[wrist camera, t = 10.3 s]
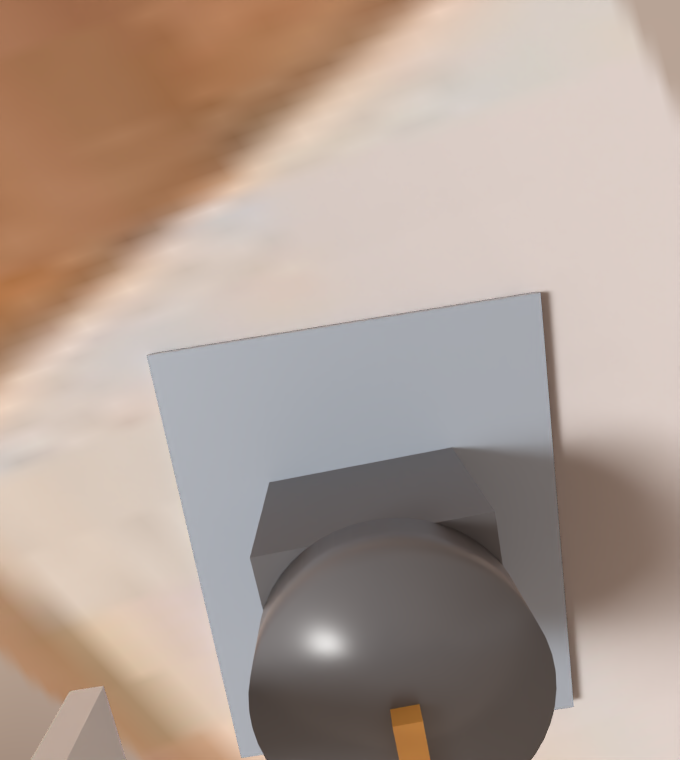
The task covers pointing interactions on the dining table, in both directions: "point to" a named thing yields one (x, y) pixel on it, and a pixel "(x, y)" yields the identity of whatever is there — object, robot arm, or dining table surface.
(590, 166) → the dining table surface
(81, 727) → the robot arm
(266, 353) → the shaft board
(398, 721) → the knob
